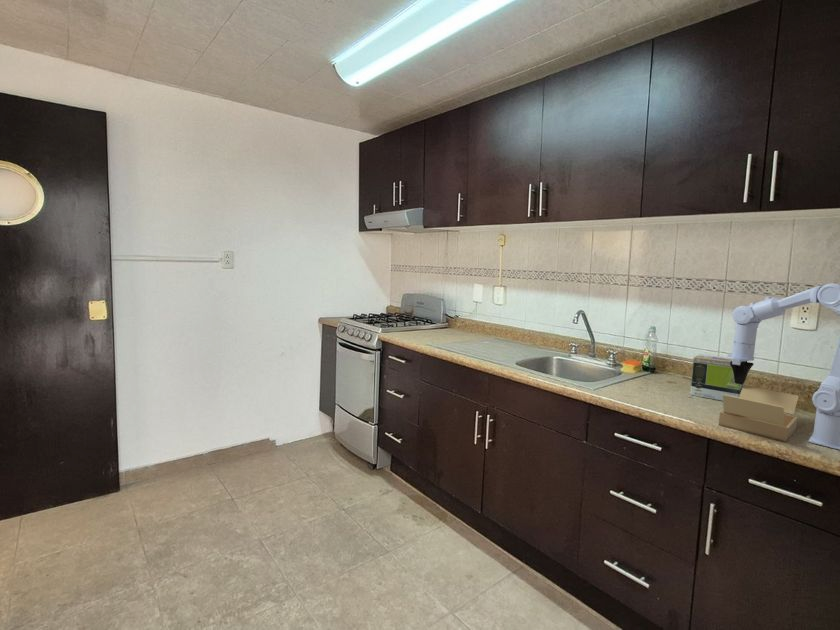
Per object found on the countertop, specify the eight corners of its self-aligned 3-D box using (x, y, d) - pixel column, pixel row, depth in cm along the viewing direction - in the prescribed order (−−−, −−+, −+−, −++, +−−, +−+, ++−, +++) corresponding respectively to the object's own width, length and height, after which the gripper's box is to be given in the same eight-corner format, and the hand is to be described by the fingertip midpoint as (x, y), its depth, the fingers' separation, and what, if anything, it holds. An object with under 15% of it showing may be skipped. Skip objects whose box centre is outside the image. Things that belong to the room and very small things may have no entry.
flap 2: (793, 414, 131) (793, 414, 131) (798, 395, 134) (798, 396, 134) (737, 402, 142) (737, 402, 142) (743, 385, 144) (743, 385, 145)
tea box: (741, 398, 163) (746, 359, 161) (738, 404, 155) (743, 363, 153) (694, 390, 172) (698, 353, 171) (689, 395, 165) (693, 356, 163)
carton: (795, 430, 131) (797, 417, 131) (786, 442, 121) (787, 428, 121) (732, 415, 143) (733, 403, 143) (718, 425, 133) (720, 412, 133)
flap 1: (784, 406, 119) (783, 407, 118) (784, 424, 122) (783, 425, 122) (723, 394, 129) (722, 395, 129) (724, 410, 132) (724, 411, 132)
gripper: (735, 339, 151) (730, 377, 152) (723, 343, 141) (718, 384, 143) (761, 342, 146) (755, 382, 147) (750, 346, 136) (744, 389, 138)
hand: (739, 383), depth 145 cm, fingers closed
